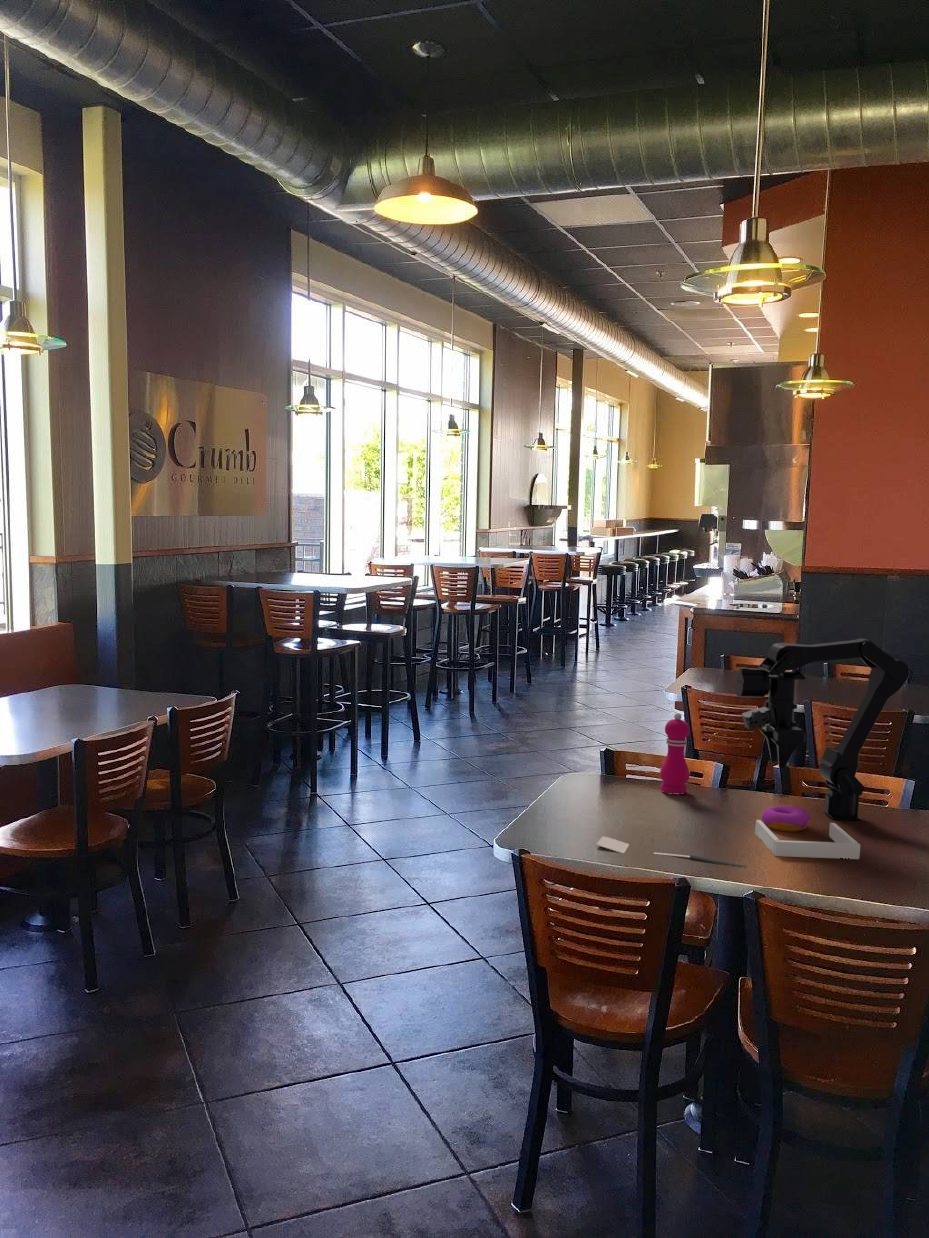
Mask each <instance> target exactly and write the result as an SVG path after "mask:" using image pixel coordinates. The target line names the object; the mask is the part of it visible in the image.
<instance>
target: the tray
mask: <svg viewBox="0 0 929 1238" xmlns="http://www.w3.org/2000/svg"><path fill="white" fill-rule="evenodd" d="M754 829H755V830H754V834H755V836H757V838H758V839H759V840H760V839H761V840H762V841H763V842H762V841H761V840H760V841H761V842H762V843H763V844H764V845H765V846H766V847H767V849H768V850H769V849H770V850H771V851H772V852H771V851H770V850H769V851H770V852H771V854H773V855H774V856H775V857H788V858H789V857H791V858H792V857H794V858H812V859H813V858H814V859H816V858H819V859H821V858H822V859H840V858H843V859H844V860H845V858H846V860H860V855H861V844H860V843H859V842H858V841H856V840H855V839H854V838H853V837H852V836H850V835H849V834H848V833H847V832H846V831H844V830H843V829H842V828H841V827H840V826H839V825H838V824H836V823H835V822H829V829H828V837H829V838H830V839H831V840H832V842H831V841H810V840H808V841H807V840H783V839H779V838H778V837H777V836H776V835H775V834H774V832H772V830H771V829H770V828H769V827H767V826H766V825H765V824H764V822H763V820H761V819H755V827H754ZM833 841H834V842H833ZM848 858H849V859H848Z"/></svg>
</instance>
